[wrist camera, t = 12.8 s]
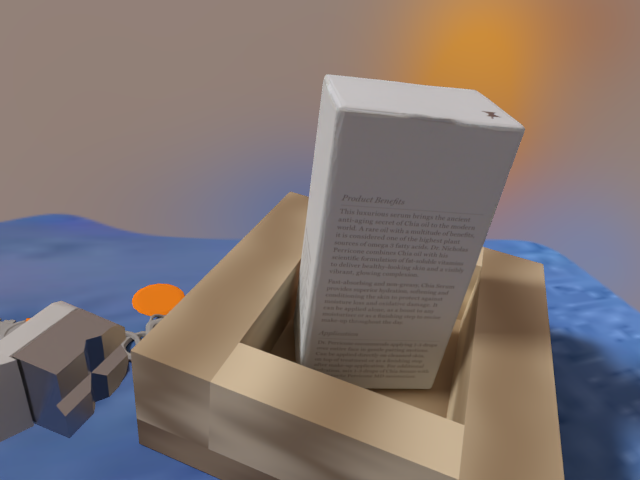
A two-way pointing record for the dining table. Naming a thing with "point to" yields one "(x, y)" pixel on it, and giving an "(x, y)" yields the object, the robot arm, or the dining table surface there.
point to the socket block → (340, 396)
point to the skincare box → (395, 225)
